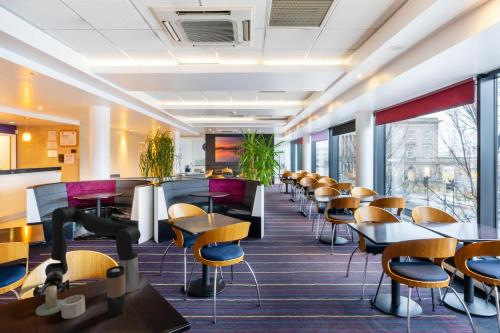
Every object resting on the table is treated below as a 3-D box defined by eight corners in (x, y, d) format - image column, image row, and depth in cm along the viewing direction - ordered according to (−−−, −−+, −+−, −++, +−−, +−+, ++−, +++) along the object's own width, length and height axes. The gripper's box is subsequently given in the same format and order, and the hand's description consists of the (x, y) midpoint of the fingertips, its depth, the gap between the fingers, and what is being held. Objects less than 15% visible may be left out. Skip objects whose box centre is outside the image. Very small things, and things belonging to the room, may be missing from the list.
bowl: (85, 305, 132) (84, 292, 131) (85, 314, 124) (84, 301, 124) (62, 310, 127) (61, 298, 127) (61, 320, 119) (60, 307, 119)
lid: (67, 299, 138) (66, 279, 137) (66, 310, 127) (65, 289, 127) (37, 306, 131) (36, 285, 131) (33, 319, 121) (32, 297, 121)
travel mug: (129, 307, 129) (127, 266, 128) (120, 317, 122) (118, 273, 121) (114, 306, 130) (112, 265, 129) (103, 316, 122) (102, 272, 121)
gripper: (36, 277, 137) (30, 290, 123) (70, 270, 145) (68, 282, 131) (37, 291, 138) (31, 306, 124) (70, 284, 145) (69, 297, 131)
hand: (50, 294), depth 127 cm, fingers open, 8 cm apart
